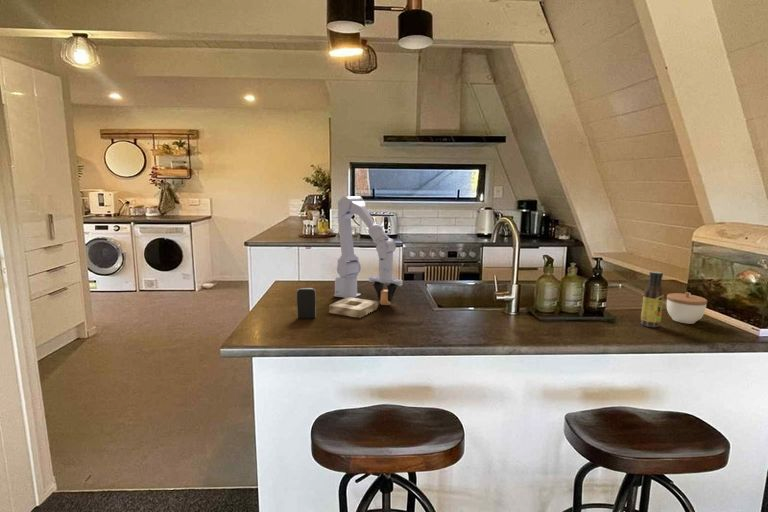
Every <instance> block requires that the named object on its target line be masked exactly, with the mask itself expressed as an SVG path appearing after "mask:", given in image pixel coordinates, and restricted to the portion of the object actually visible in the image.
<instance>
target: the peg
mask: <svg viewBox="0 0 768 512" xmlns="http://www.w3.org/2000/svg"><path fill="white" fill-rule="evenodd" d="M379 301H380V305H382V306H390V305H391V302H389V301H388V289H383V290H381V300H379Z"/></svg>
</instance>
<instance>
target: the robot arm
mask: <svg viewBox="0 0 768 512" xmlns="http://www.w3.org/2000/svg"><path fill="white" fill-rule="evenodd" d="M337 209H338V210H337V224H338V232H339V233H338V234H339V241H340V242H339V243H340V253H341V255H340V257H339V258H337V267H336V272H337V274H338V275H337V276H336V277H335V281H334V294H333V296H334V297H338V298H342V299H344V298H346V297H352V298H358V296H361V295H362V294H361V293H360V292H359V293H358V276H359V273H360V272H361V268H362V267H361V263H360V261H359V257H358V256H357V255H356V254H355V250H354V249H355V247H354V239H353V231H352V230H353V229H352V219H351V218H352V217H353V216H354V215H356V216H358V217H359V218H360V219H361V220H362V222H363V223H364V224H365V225H366V227H367V228H368V231H367V233H368V235H369V236H370V238H372V240H373V242H374V244H375V245H376V246H375V250H376V252H377V256H378V276H370V277H368V282H369V283H373V284H372V285H373V287H374V289H375V292H376V294H377V298H378V301H381V290H384V284H388V285H387V286H386V287H387V290H388V301H389V302H390V303H391V302H392V301H393V297H394V295H395V292H396V289H397V288H398V286H399V287H401V286H403V281H404V280H402V279H397V278H393V277H394V275H393V273H394V270H393V269H394V267H393V266H394V252H395V251H396V250H397V249H396V248H397V244H396V242H395V240H394V239H393V238H390V236H388V235H387V233H386V232H385V230H384V229H383V226H382V225H381V224H377V223H376V222H375V220H374V219H373V217H372V216H371V213H370V212H369V210H368V209H367V206H366V201H364V199H363V197H362V196H360V195H354V196H353V195H352V196H351V195H349V196H342V197H340V198H339V200H338V201H337Z"/></svg>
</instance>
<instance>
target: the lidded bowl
mask: <svg viewBox="0 0 768 512" xmlns="http://www.w3.org/2000/svg"><path fill="white" fill-rule="evenodd" d="M707 304H708V300H707V298H704V297H702V296H700V295H699V296H698V295H694V294H690V292H688V291H686V292H685V293H681V292H680V293H679V292H677V293H676V292H673V293H667V294H666V310H667V313H668V315H669V316H670V318H671V319H672V320H673V321H675V322H677V323H681V324H686V325H687V324H690V325H691V324H695V323H696V322H697V321H699V320H701V319H702V317H703V316H704V314H705V312H706V308H707Z"/></svg>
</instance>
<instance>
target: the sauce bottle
mask: <svg viewBox="0 0 768 512" xmlns="http://www.w3.org/2000/svg"><path fill="white" fill-rule="evenodd" d="M648 275H649V282H648V284H647V286H645V288H644V289H643V290H644V292H643V297H642V304H641V314H640V324H641V326H644V327H648V328H658V327H660V326H661V321H662V313H663V304H664V296H665V293H664V289H663V287H662V279H663V276H664V273H663V272H661V271H655V270H651V271H649V274H648Z"/></svg>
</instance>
